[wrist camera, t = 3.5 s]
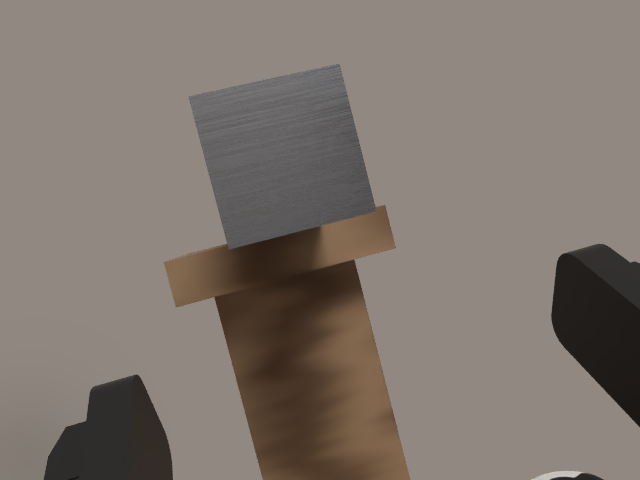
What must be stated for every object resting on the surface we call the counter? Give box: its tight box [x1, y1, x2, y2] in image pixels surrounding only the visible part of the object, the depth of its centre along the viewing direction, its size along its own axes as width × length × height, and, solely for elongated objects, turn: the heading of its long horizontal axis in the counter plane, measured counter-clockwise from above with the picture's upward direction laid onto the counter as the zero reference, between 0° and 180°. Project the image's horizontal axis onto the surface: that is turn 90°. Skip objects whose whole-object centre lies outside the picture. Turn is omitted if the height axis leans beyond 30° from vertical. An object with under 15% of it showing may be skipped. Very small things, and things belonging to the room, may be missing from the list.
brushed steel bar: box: [189, 64, 376, 249], centre depth 26 cm, size 4×24×4 cm, turn 8°
